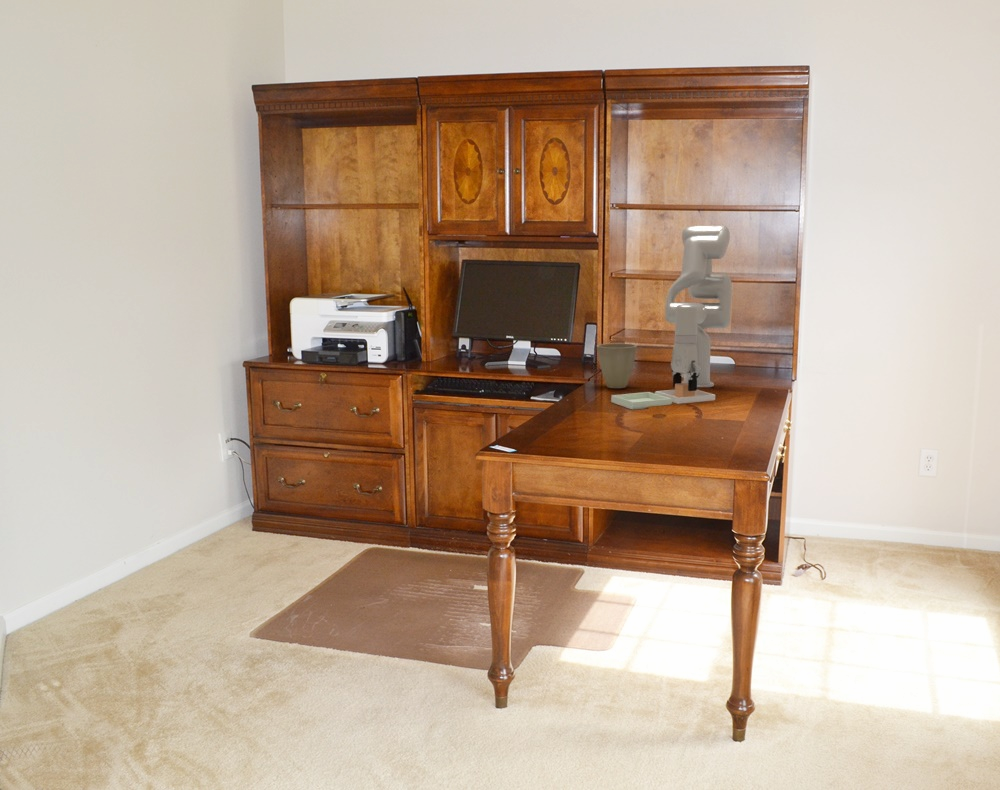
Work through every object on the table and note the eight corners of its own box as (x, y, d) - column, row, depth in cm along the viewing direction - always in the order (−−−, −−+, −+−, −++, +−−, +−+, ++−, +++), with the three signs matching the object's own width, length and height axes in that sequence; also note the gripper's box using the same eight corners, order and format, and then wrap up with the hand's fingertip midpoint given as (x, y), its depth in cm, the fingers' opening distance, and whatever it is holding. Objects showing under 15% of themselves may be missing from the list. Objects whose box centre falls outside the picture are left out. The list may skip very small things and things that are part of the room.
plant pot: (643, 386, 363) (644, 344, 360) (621, 391, 352) (621, 348, 350) (611, 382, 373) (612, 342, 370) (589, 387, 362) (589, 346, 360)
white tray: (655, 398, 338) (655, 391, 337) (691, 394, 343) (691, 388, 343) (677, 405, 324) (678, 398, 324) (715, 401, 330) (715, 394, 329)
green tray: (611, 402, 332) (611, 395, 331) (648, 398, 337) (649, 391, 337) (632, 409, 318) (632, 402, 317) (671, 406, 323) (671, 398, 323)
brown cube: (674, 397, 335) (675, 383, 334) (686, 396, 337) (687, 382, 336) (682, 400, 330) (682, 385, 330) (694, 398, 332) (695, 384, 331)
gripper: (663, 338, 336) (662, 386, 339) (690, 342, 320) (689, 393, 323) (681, 337, 339) (680, 385, 342) (709, 341, 323) (707, 391, 326)
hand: (684, 388), depth 332 cm, fingers open, 9 cm apart
